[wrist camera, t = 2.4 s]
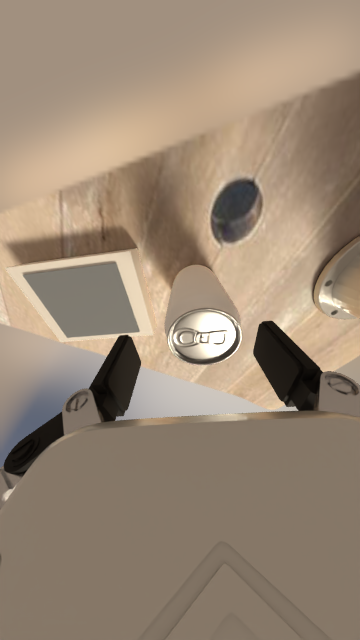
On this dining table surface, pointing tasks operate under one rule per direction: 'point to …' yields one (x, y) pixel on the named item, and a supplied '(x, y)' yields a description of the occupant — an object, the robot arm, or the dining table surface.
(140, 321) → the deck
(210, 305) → the can
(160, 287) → the dining table surface
